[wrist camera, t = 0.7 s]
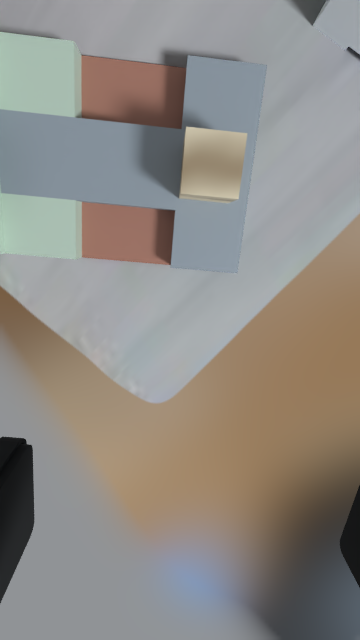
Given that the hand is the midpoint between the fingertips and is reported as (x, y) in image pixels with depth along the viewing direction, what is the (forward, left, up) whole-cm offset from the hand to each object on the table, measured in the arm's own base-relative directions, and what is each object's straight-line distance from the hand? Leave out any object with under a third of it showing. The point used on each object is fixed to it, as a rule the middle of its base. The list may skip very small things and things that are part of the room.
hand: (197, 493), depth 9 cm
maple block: (-12, +2, -23) cm, 26 cm away
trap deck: (-12, -6, -26) cm, 29 cm away
